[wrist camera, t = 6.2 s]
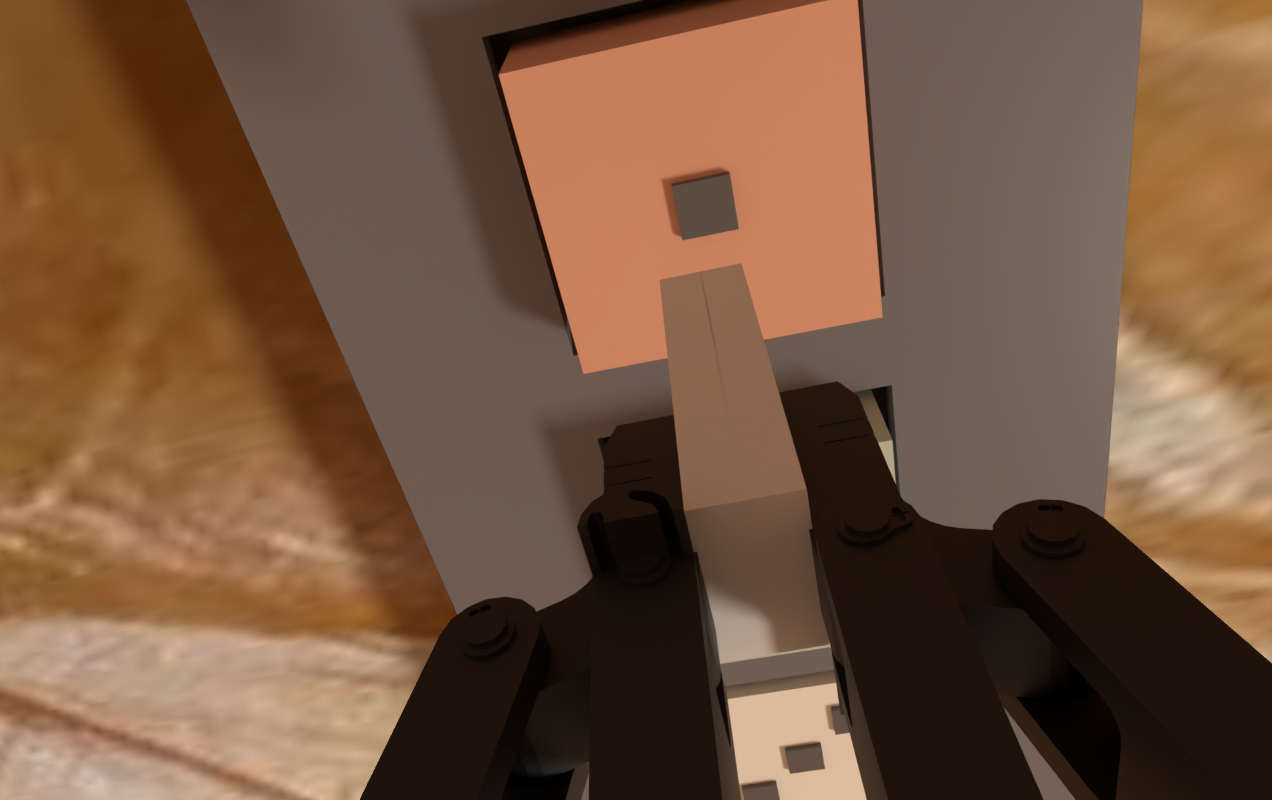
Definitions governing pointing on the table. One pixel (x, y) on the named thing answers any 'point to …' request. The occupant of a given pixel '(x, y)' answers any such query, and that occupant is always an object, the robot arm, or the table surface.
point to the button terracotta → (700, 165)
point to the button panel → (599, 401)
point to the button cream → (793, 740)
